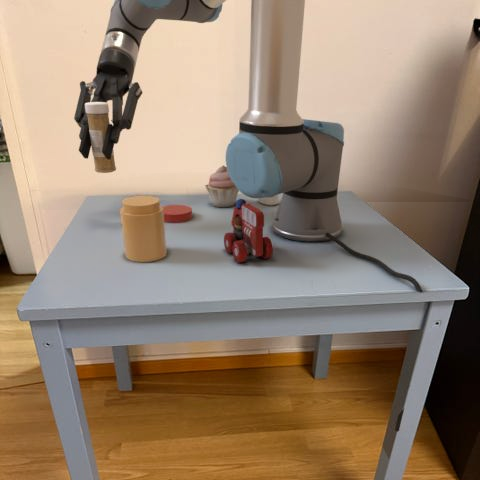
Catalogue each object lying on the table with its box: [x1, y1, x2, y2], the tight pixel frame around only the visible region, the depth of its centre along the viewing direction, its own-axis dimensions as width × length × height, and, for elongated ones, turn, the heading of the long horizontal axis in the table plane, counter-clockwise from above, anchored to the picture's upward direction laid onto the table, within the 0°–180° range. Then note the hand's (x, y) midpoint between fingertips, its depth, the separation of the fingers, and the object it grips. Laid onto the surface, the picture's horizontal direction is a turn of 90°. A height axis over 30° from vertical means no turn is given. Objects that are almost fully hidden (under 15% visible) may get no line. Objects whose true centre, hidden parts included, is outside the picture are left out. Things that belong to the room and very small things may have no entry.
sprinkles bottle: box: [85, 101, 117, 174], centre depth 95 cm, size 5×5×14 cm
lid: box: [162, 204, 193, 224], centre depth 109 cm, size 8×8×2 cm
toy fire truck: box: [223, 198, 274, 263], centre depth 87 cm, size 7×12×10 cm, turn 22°
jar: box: [119, 195, 168, 263], centre depth 86 cm, size 8×8×11 cm
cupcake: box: [204, 165, 240, 208], centre depth 117 cm, size 9×9×10 cm
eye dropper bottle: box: [257, 194, 279, 206], centre depth 118 cm, size 4×6×12 cm
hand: (94, 154), depth 93 cm, fingers closed on sprinkles bottle, 4 cm apart
